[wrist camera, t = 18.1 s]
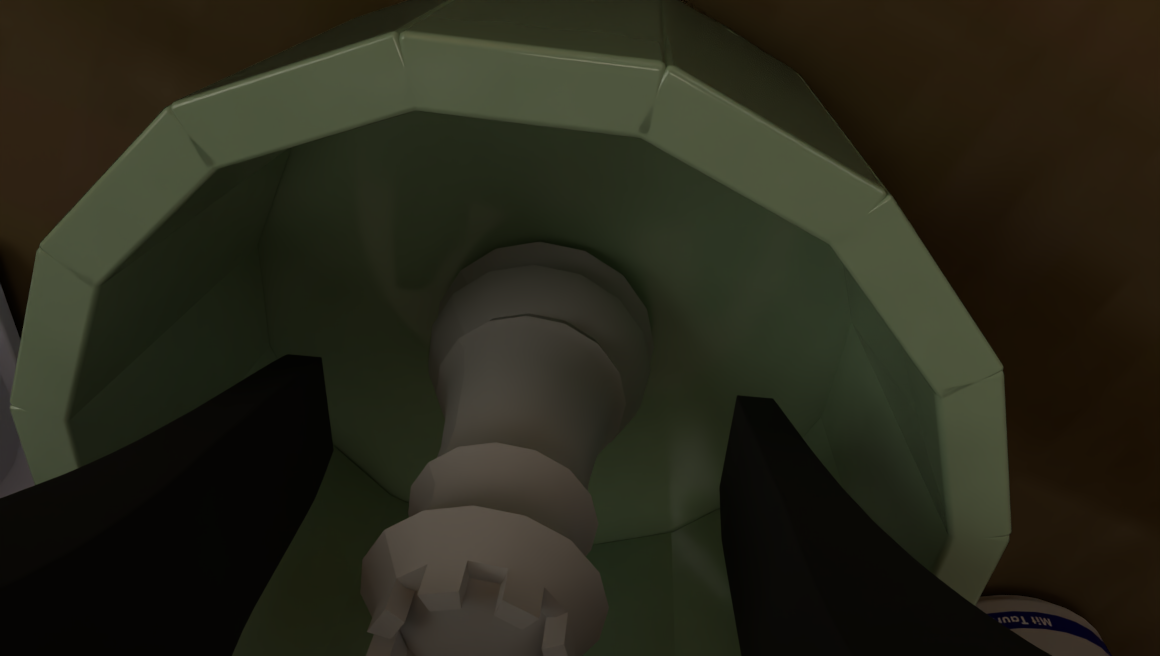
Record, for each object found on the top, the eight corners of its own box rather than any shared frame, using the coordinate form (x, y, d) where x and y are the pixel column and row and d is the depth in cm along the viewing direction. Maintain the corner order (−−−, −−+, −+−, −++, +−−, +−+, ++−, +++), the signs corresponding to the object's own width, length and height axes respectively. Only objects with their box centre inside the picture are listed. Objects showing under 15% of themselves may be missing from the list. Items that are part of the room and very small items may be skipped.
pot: (389, 588, 21) (296, 838, 16) (106, 99, 15) (-215, 227, 9) (912, 506, 18) (1026, 777, 13) (831, -141, 12) (982, -159, 7)
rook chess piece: (397, 326, 16) (214, 648, 10) (541, 185, 15) (443, 457, 8) (550, 450, 18) (485, 812, 11) (699, 336, 16) (734, 682, 9)
